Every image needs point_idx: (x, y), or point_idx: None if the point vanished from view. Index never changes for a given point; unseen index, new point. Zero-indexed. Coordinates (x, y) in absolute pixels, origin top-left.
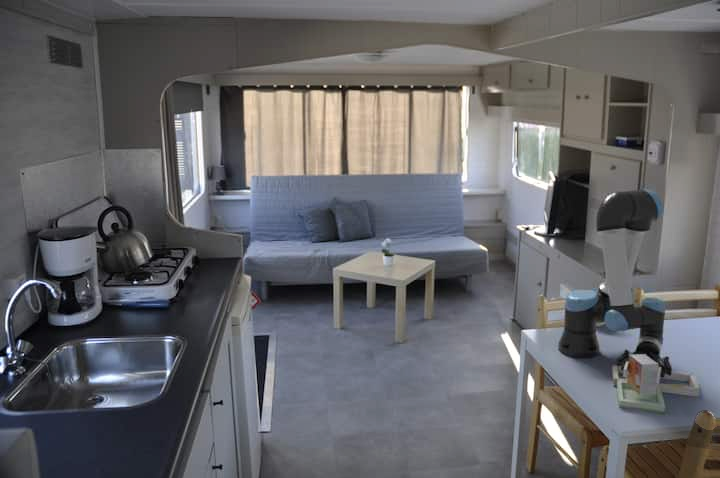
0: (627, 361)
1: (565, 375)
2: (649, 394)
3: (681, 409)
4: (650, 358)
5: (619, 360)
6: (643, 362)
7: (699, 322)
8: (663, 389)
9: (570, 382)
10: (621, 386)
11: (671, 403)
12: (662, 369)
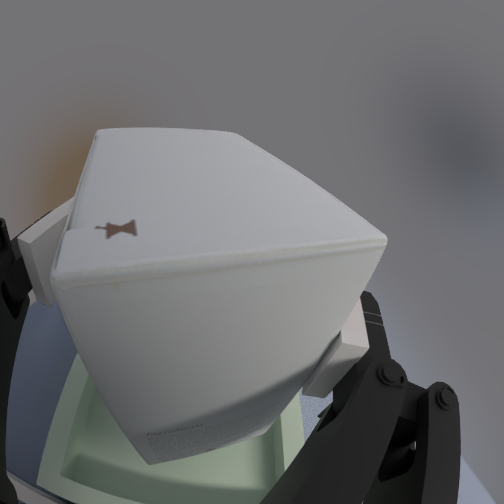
0: (355, 386)
1: (483, 498)
2: (117, 446)
3: (36, 335)
4: (90, 168)
5: (428, 389)
6: (219, 136)
7: None
8: (28, 485)
9: (462, 460)
10: (286, 454)
11: (44, 381)
12: (15, 253)
